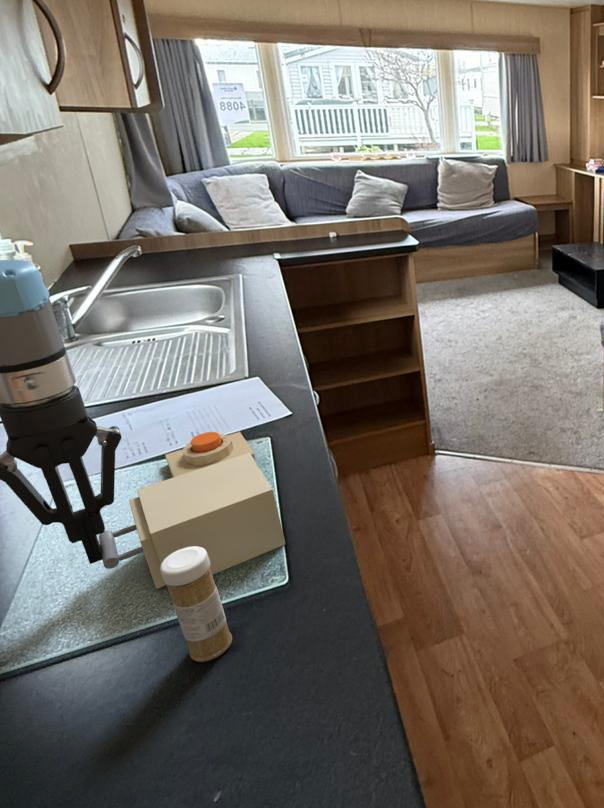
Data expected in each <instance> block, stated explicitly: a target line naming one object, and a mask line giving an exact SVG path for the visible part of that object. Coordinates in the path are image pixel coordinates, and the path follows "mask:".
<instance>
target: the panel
mask: <svg viewBox="0 0 604 808" xmlns="http://www.w3.org/2000/svg"><path fill="white" fill-rule="evenodd" d="M219 434H220V438H221V442H222V445H221V446H220V447H218V448H216V449H215V450H212V451H208V452H203V453H195V452H193V449H192V445H191V441H190V442H188V443H186V444H185V446H184V447H183V448H182V449H178V450H175V451H172V452H169V453H166V454H164V457H165V459H166V460H165V461H166V463H167V467H168V469H169V471H170V474H171V476H172V478H173V477H177V476H180V475H183V474H186V473H189V472H192V471H195V470H198V469H201V468H204V467H207V466H210V465H213V464H216V463H219V462H222V461H226V460H229V459H232V458H235V457H238V456H241V455H244V454H247V453H250V454H251V456H252V458H253V459H254V461H255V462H256V464H257V465H258V463H257V460H256V455H255V453H254V451H253V449H252V448H251V446H250V444H248V442H247V440H246V438H245V437H244V436H243V434H242V432H241V431H237V432H234V433H231V434H228V435H227V434H222V433H219Z"/></svg>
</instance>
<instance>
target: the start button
mask: <svg viewBox="0 0 604 808" xmlns="http://www.w3.org/2000/svg"><path fill="white" fill-rule="evenodd" d="M220 434H221V433H219V432H216V431H207V432H203V433H200V434H197V435H195V436H194V437H193V438H191V440H190V442H191V445H192V449H193V452H195V453H203V452H208V451H212V450H215V449H216V448H218V447H220V446H221V445H222V442H221V438H220Z"/></svg>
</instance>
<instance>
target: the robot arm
mask: <svg viewBox="0 0 604 808" xmlns="http://www.w3.org/2000/svg"><path fill="white" fill-rule="evenodd" d="M50 297H51V296H50V292H49V289H48V287H47V286H46V285H45V282H44V280H43V277H42V276H41V273H40V271H39V269H38V267H37V266H36V265H35V264H34V263H32V262H31V261H27V260H24V259H13V260H9V259H1V260H0V420H1V423H2V425H3V428H4V431H5V433H6V436H7V440H6V445H5V449H6V450H4V452H3V453H1V454H0V481H2V482H4V483H5V484H6V485H7V486H8V487H9V489H10V490H11V491H12V492H13V493H14V494H15V495H16V496H17V498H18V499H19V500H20V501H21V502H22V503H23V504H24V505H25V507H26V508H27V509H28V511H30V513H32V515H33V516H34V517H35V518H36V519H37V520H38V522H39V523H40V524H41V525H43V526H50V525H51V524H56V523H59V524H61V525H63V528H64V531H65V534H66V536H67V539H68V541H69V542H70V543H71V544H75V543H78V542H81V544H82V546H83V549H84V552H85V554H86V557H87V560H88V562H89V565H91V564H95V563H97V562H100V561H103V559H102V553H101V548H100V543H99V537H98V536H99V535H100V534H101V533H104V531H106V526H105V521H104V519H103V516H102V512H101V510H102V509H103V508H105V507H107V506H111V505H112V504H113V503H114V502H115V479H116V475H115V474H116V450H117V448H118V447H119V444H120V442H121V440H122V433H121V430H120V428H119V426H117V425H112V426H110V427H104V426H100V425H97V423H96V422H95V419H92V418H91V417H90V416H89V414H88V412H87V409H86V405H85V403H84V400H83V396H82V394H81V391H80V387H78V386H77V385H76V382H77V378H76V375H75V372H74V369H73V366H72V364H71V360H70V357H69V354H68V351H67V350H66V347H65V344H64V340H63V337H62V334H61V331H60V328H59V325H58V321H57V318H56V315H55V312H54V309H53V306H52V302H51V300H50V299H51V298H50ZM95 437H96V438H97V443H98V445H99V446H101V448H100V451H101V452H100V492H99V493H98V494H97V495H96V494H95V491H94V489H93V485H92V482H91V480H90V477H89V473H88V471H87V468H86V465H85V462H84V459H83V457H84V456H85V454H86V453H87V451H88V450H89V447H90V445H92V442H93V440H94V438H95ZM16 459H18V460H20V461H22V462H24V463H26V464H28V465H30V466H32V467H34V468H36V469H40V470H41V473H42V475H43V478H44V480H45V481H46V485H47V487H48V489H49V493H50V495H51V497H52V500H53V502H54V505H55V508H52V506H51V505H50V504H49V503H48V502H47V501H46V499H45V498H44V497H43V496H42V494H41V493H40V492H39V491H38V490H37V488H36V487H35V486H34V485H33V484H32V483H31V482H30V481H29V479H28V478H27V477H26V476H25V474H24V473H23V472H22V471H21V469H19V468H18V462H17V460H16ZM64 464H68V465H69V468H70V471H71V472H72V475H73V478H74V482H75V484H76V487H77V490H78V492H79V496H80V498H81V502H82V504H83V507H84V508H81V509H79V510H76V511H74V510H73V505H72V504H71V500H70V498H69V495H68V492H67V490H66V487H65V484H64V482H63V481H64V480H63V478H62V476H61V473H60V469H59V468H58V467H59V466H61V465H64Z"/></svg>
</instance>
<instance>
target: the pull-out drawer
mask: <svg viewBox="0 0 604 808" xmlns="http://www.w3.org/2000/svg"><path fill="white" fill-rule="evenodd" d="M128 502H129V506H130V510H131V512H132V513H131V514H132V517H133V521H134V524H133V525H129V526H126V527H124V528H121V529H118V530H116V531H111V530H105V531H104V533H101V534H98V541H99V544H100V548H101V553H102V559H103V560H102V563H103V564H102V565H103V567H104V568H105V569H106V570H107V569H108V570H111V569H115V568H116V567H118V566H119V564H120V562H122V561H124V560H126V559H129V558H133V557H135V556H137V555H140V554H144V558H145V560H146V563H147V566H148V569H149V572H150V575H151V578H152V580H153V581H152V582H153V583H154V586H155V589H157V590H158V589H160V588H162V587H165V586H167V585H166V583H165V582H164V580H163V577H162V574H161V571H160V566H161V565H160V562H159V559H158V556H157V553H156V550H155V547H154V544H153V541H152V538H151V535H150V532H149V529H148V525H147V522H146V519H145V515H144V512H143V509H142V505H141V502H140V499H139V496H138V497H134V498H132V499H129V500H128ZM135 531H136V532H137V535H138V538H139V542H140V545H141V546H140V547H137V548H134V549H132V550H129V551H126V552H124V553H120V554H119V553H118V549H117V546H116V545H117V544H116V540H115V538H118V537H120V536H123V535H126V534H129V533H133V532H135Z"/></svg>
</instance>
